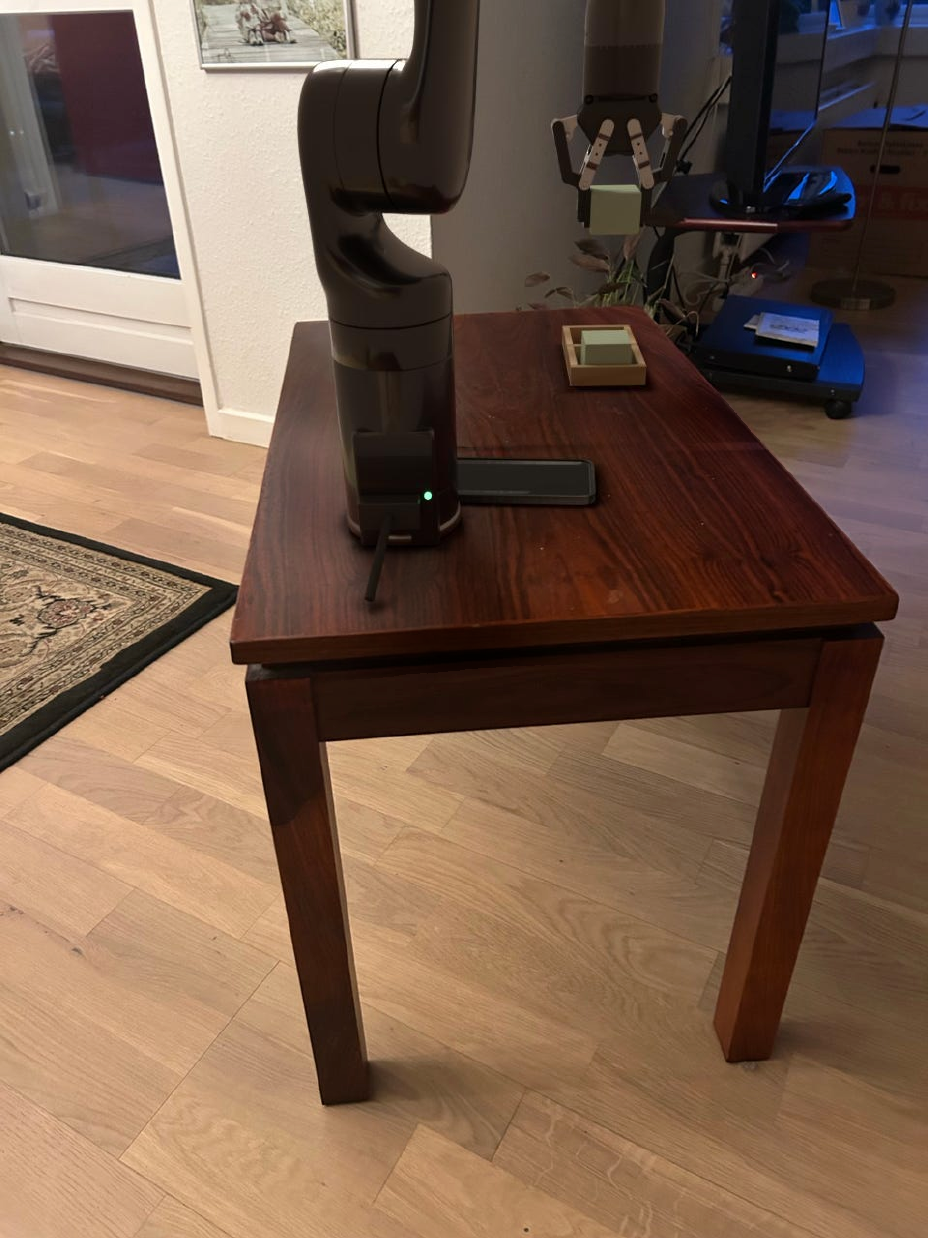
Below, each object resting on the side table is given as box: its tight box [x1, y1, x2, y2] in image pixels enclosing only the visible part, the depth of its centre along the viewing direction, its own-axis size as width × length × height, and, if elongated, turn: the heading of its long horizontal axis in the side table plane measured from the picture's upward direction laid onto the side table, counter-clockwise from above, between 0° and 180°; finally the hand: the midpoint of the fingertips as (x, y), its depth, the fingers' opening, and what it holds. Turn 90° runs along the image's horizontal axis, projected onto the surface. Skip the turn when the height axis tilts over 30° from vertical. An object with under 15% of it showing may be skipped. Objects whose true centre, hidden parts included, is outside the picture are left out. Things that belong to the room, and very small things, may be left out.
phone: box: [457, 456, 597, 506], centre depth 84 cm, size 8×1×15 cm
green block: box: [587, 184, 642, 236], centre depth 100 cm, size 5×5×4 cm
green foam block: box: [580, 330, 632, 365], centre depth 105 cm, size 5×5×4 cm
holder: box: [561, 324, 647, 387], centre depth 109 cm, size 15×8×3 cm, turn 179°
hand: (612, 225), depth 101 cm, fingers closed on green block, 5 cm apart
